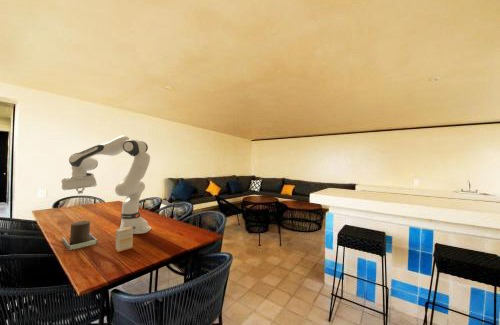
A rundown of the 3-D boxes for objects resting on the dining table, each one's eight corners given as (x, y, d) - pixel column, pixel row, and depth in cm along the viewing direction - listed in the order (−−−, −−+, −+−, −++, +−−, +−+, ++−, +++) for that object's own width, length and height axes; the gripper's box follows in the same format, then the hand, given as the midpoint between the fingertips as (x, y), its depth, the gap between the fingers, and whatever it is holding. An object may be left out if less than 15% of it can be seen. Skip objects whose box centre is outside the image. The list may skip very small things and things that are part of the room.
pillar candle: (77, 247, 125) (78, 223, 126) (65, 245, 128) (67, 221, 128) (92, 242, 135) (94, 219, 135) (82, 240, 137) (83, 218, 138)
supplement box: (129, 246, 131) (130, 225, 131) (132, 248, 128) (133, 227, 128) (115, 250, 124) (115, 228, 124) (117, 252, 121) (118, 230, 121)
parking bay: (62, 241, 134) (62, 237, 134) (88, 235, 145) (89, 232, 145) (68, 250, 121) (68, 246, 121) (97, 243, 132) (97, 239, 132)
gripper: (60, 176, 147) (60, 194, 143) (95, 173, 159) (96, 189, 154) (62, 180, 152) (62, 197, 147) (96, 176, 164) (97, 192, 159)
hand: (80, 193), depth 151 cm, fingers closed
